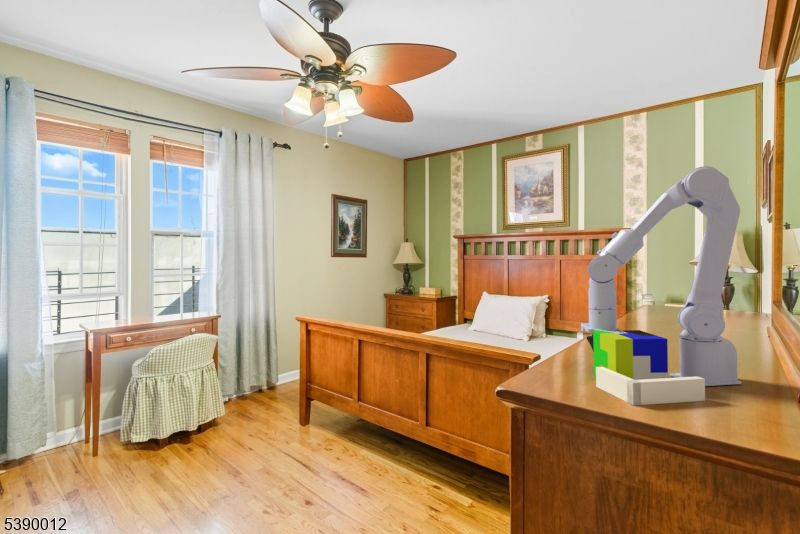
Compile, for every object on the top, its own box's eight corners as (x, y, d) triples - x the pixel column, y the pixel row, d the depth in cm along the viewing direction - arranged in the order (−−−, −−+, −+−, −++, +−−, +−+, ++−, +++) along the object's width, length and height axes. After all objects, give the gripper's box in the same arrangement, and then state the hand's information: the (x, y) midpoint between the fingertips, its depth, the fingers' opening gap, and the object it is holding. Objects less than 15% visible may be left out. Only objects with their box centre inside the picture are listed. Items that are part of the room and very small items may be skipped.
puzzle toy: (668, 389, 78) (667, 338, 78) (616, 389, 78) (615, 339, 78) (639, 374, 88) (639, 330, 88) (593, 375, 88) (593, 330, 88)
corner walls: (659, 382, 82) (659, 363, 82) (705, 400, 71) (704, 378, 71) (596, 386, 80) (595, 367, 80) (633, 405, 70) (632, 382, 70)
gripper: (569, 305, 97) (569, 360, 98) (605, 313, 83) (606, 377, 83) (595, 305, 98) (596, 359, 98) (636, 312, 84) (637, 375, 84)
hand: (603, 367), depth 91 cm, fingers closed
